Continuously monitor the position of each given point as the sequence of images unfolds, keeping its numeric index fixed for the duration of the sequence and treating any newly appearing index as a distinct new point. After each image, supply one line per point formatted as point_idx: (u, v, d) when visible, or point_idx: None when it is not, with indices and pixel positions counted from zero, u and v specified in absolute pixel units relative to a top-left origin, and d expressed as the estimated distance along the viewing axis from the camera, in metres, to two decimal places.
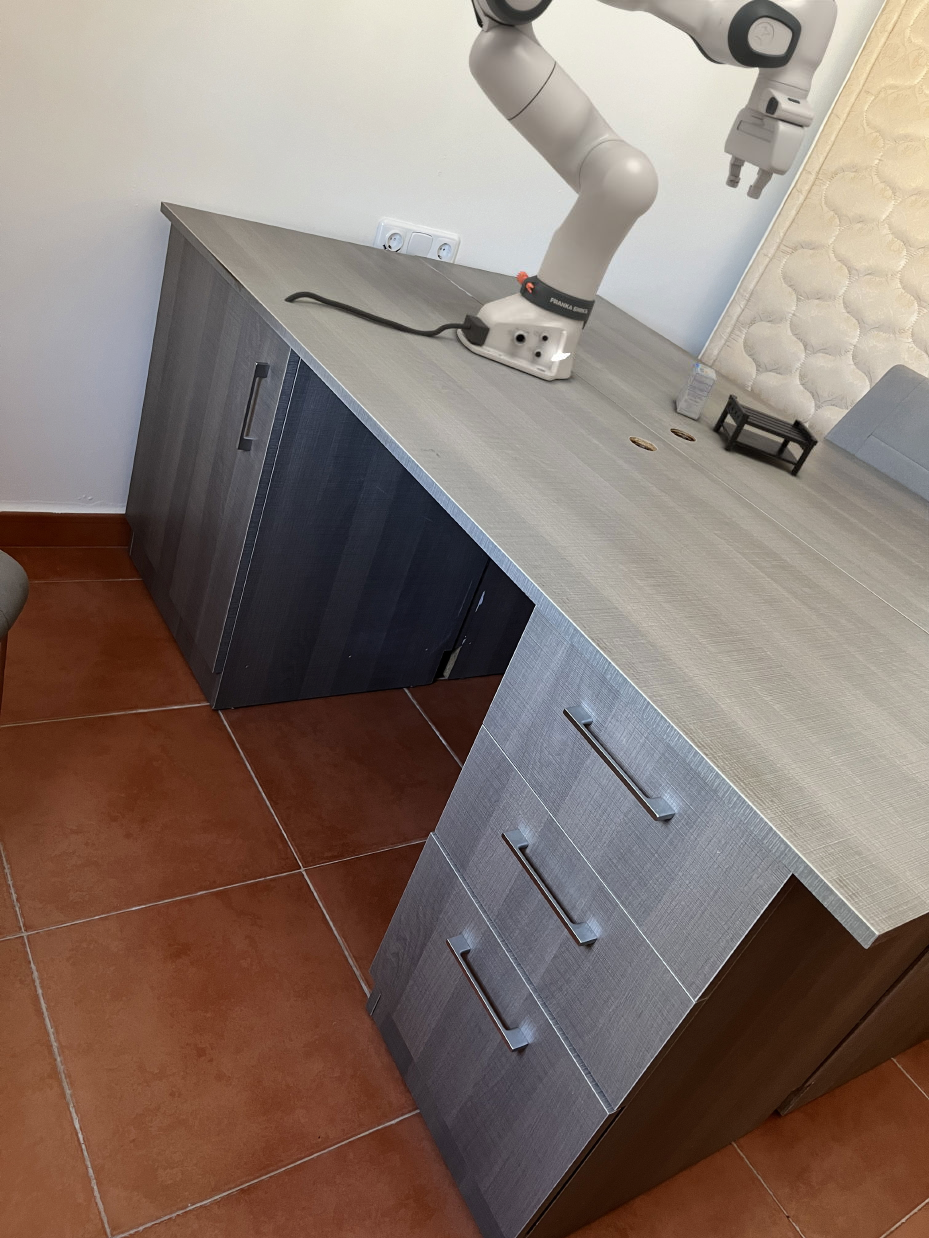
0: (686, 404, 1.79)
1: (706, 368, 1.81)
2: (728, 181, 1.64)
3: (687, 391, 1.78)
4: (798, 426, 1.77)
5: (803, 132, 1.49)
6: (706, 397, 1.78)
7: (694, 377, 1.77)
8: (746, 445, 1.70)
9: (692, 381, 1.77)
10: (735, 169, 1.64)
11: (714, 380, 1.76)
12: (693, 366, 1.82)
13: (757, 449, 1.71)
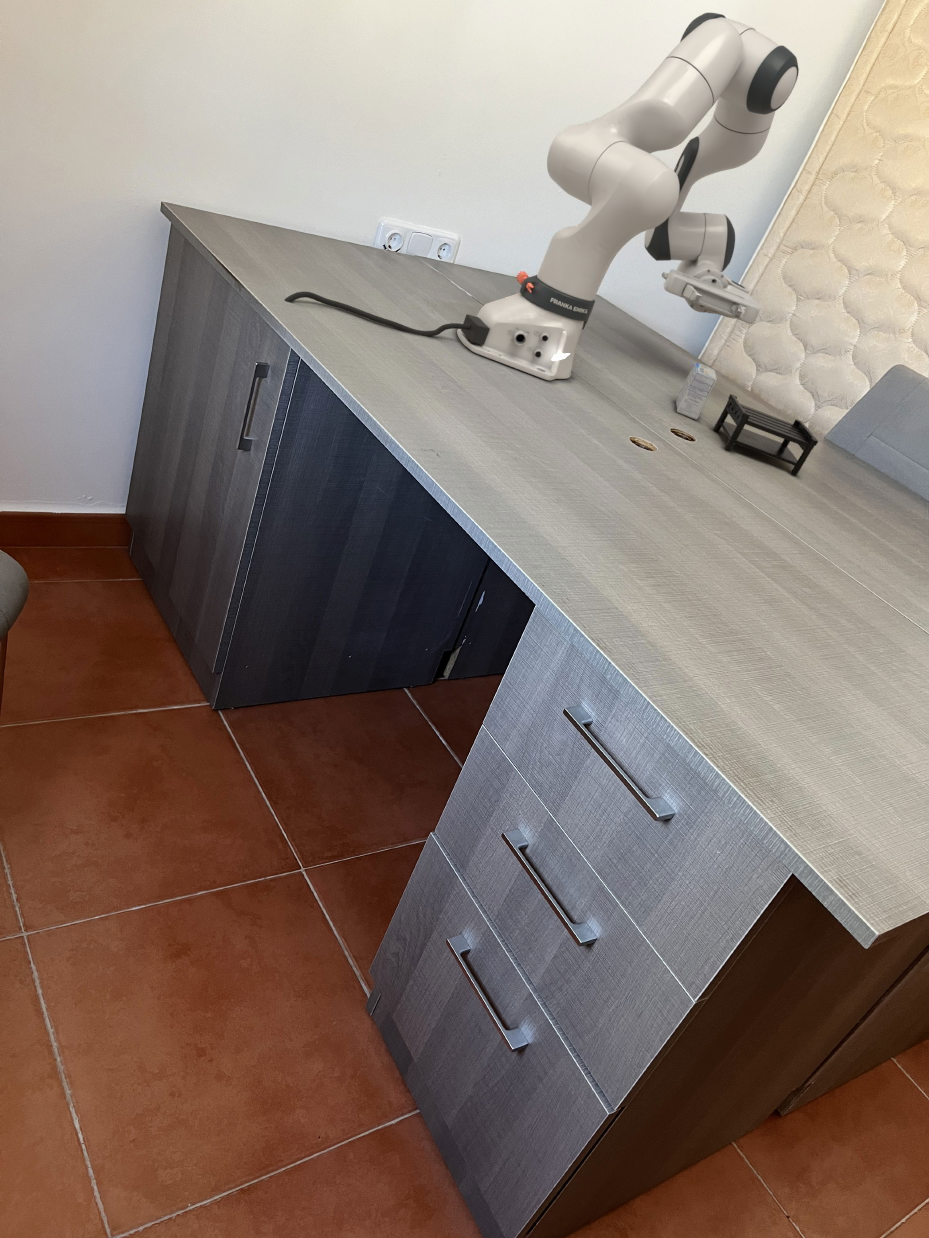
0: (686, 404, 1.79)
1: (706, 368, 1.81)
2: (699, 293, 1.84)
3: (687, 391, 1.78)
4: (798, 426, 1.77)
5: None
6: (706, 397, 1.78)
7: (694, 377, 1.77)
8: (746, 445, 1.70)
9: (692, 381, 1.77)
10: None
11: (714, 380, 1.76)
12: (693, 366, 1.82)
13: (757, 449, 1.71)
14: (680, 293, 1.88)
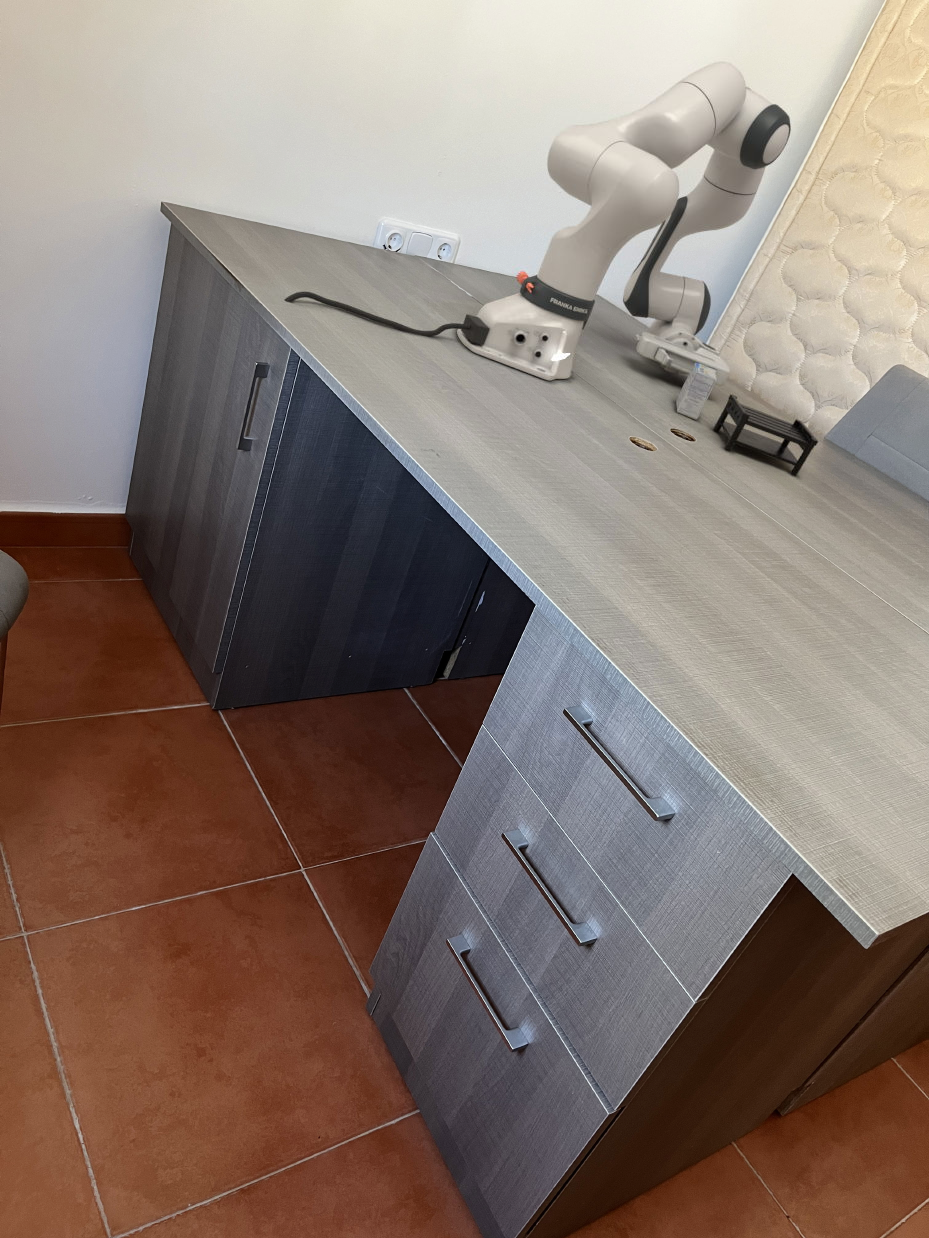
0: (686, 404, 1.79)
1: (706, 368, 1.81)
2: (670, 357, 1.88)
3: (687, 391, 1.78)
4: (798, 426, 1.77)
5: None
6: (706, 397, 1.78)
7: (694, 377, 1.77)
8: (746, 445, 1.70)
9: (692, 381, 1.77)
10: None
11: (714, 380, 1.76)
12: (693, 366, 1.82)
13: (757, 449, 1.71)
14: (652, 356, 1.92)
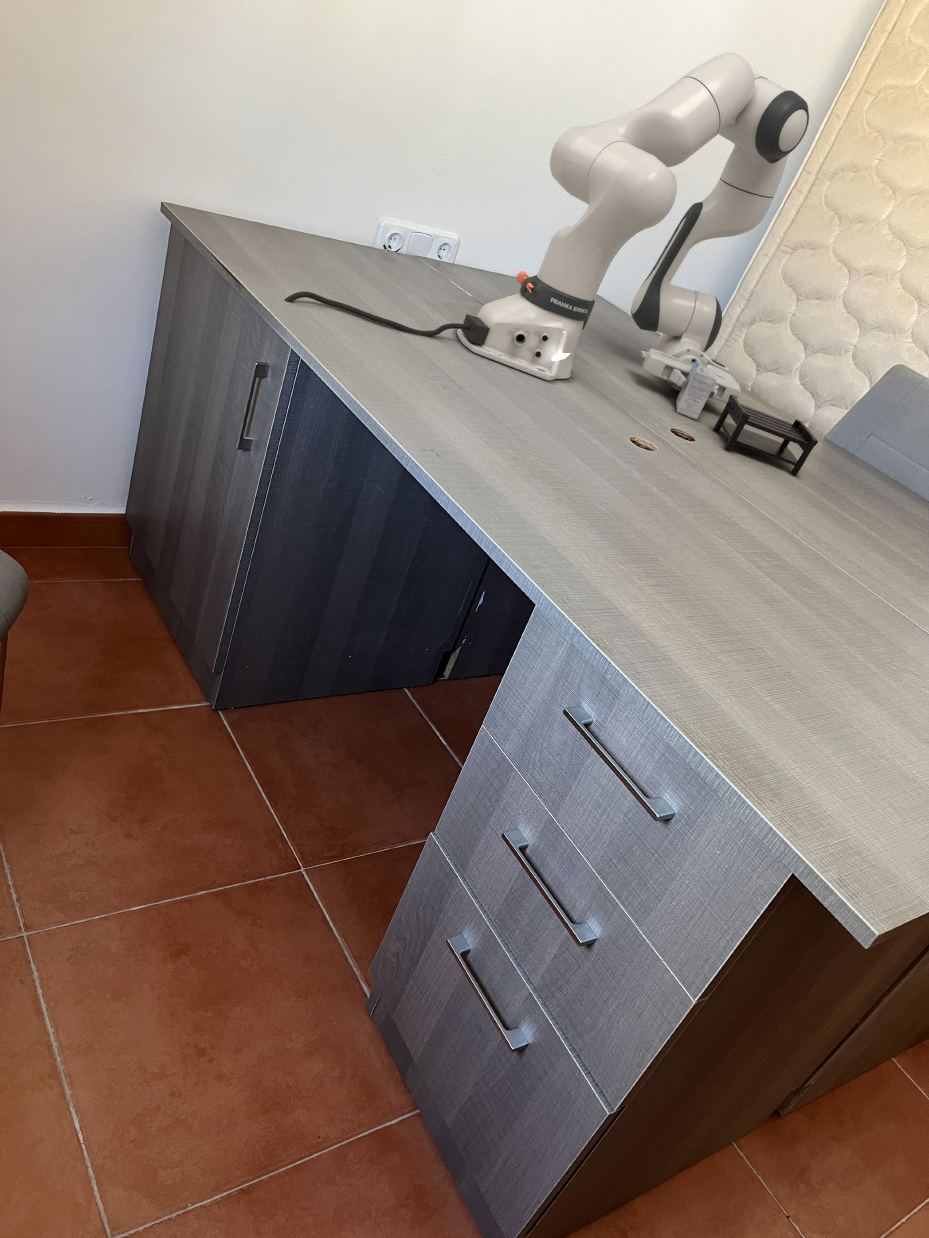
0: (686, 404, 1.79)
1: (706, 368, 1.81)
2: (686, 378, 1.80)
3: (687, 391, 1.78)
4: (798, 426, 1.77)
5: None
6: (706, 397, 1.78)
7: (694, 377, 1.77)
8: (746, 445, 1.70)
9: (692, 381, 1.77)
10: None
11: (714, 380, 1.76)
12: (693, 366, 1.82)
13: (757, 449, 1.71)
14: (659, 374, 1.84)
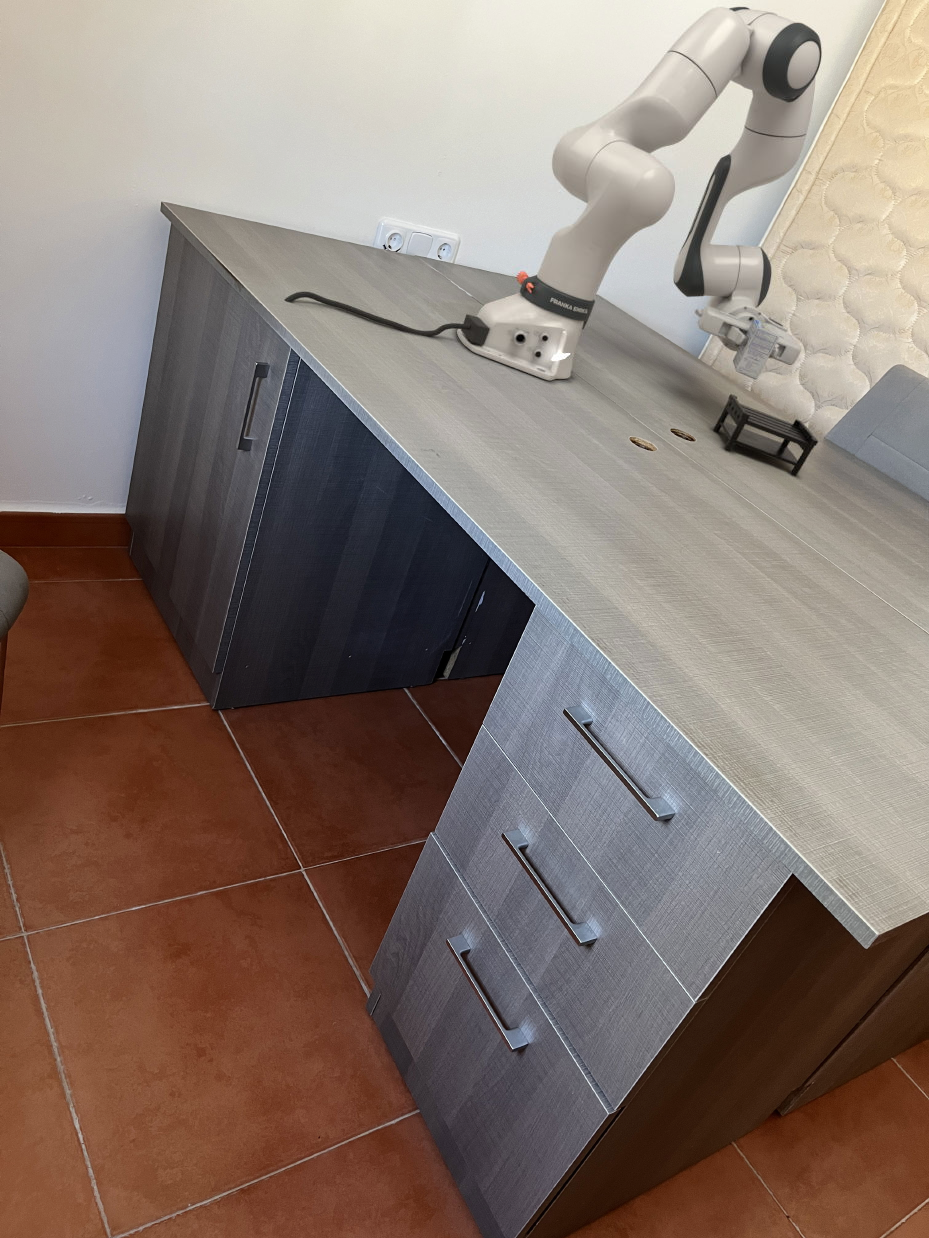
0: (746, 363, 1.70)
1: (766, 325, 1.72)
2: (745, 336, 1.71)
3: (747, 349, 1.69)
4: (798, 426, 1.77)
5: None
6: (767, 355, 1.69)
7: (755, 334, 1.68)
8: (746, 445, 1.70)
9: (753, 338, 1.68)
10: None
11: (776, 337, 1.67)
12: (752, 323, 1.74)
13: (757, 449, 1.71)
14: (716, 332, 1.75)
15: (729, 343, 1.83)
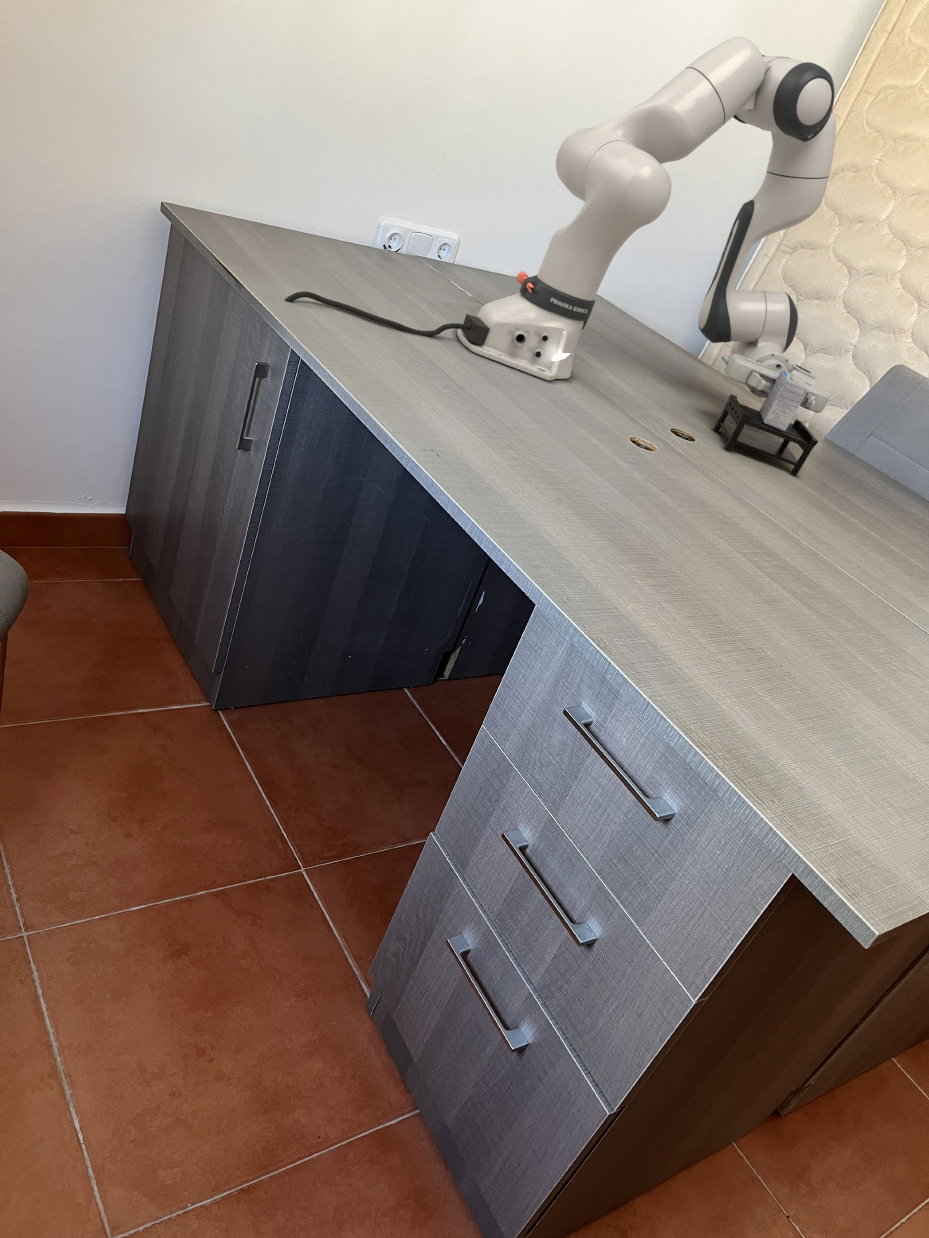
0: (774, 415, 1.69)
1: (794, 377, 1.71)
2: (766, 382, 1.69)
3: (776, 401, 1.68)
4: (798, 426, 1.77)
5: None
6: (796, 407, 1.68)
7: (784, 386, 1.66)
8: (746, 445, 1.70)
9: (782, 391, 1.67)
10: None
11: (805, 390, 1.66)
12: (780, 374, 1.72)
13: (757, 449, 1.71)
14: (744, 381, 1.73)
15: (756, 389, 1.82)
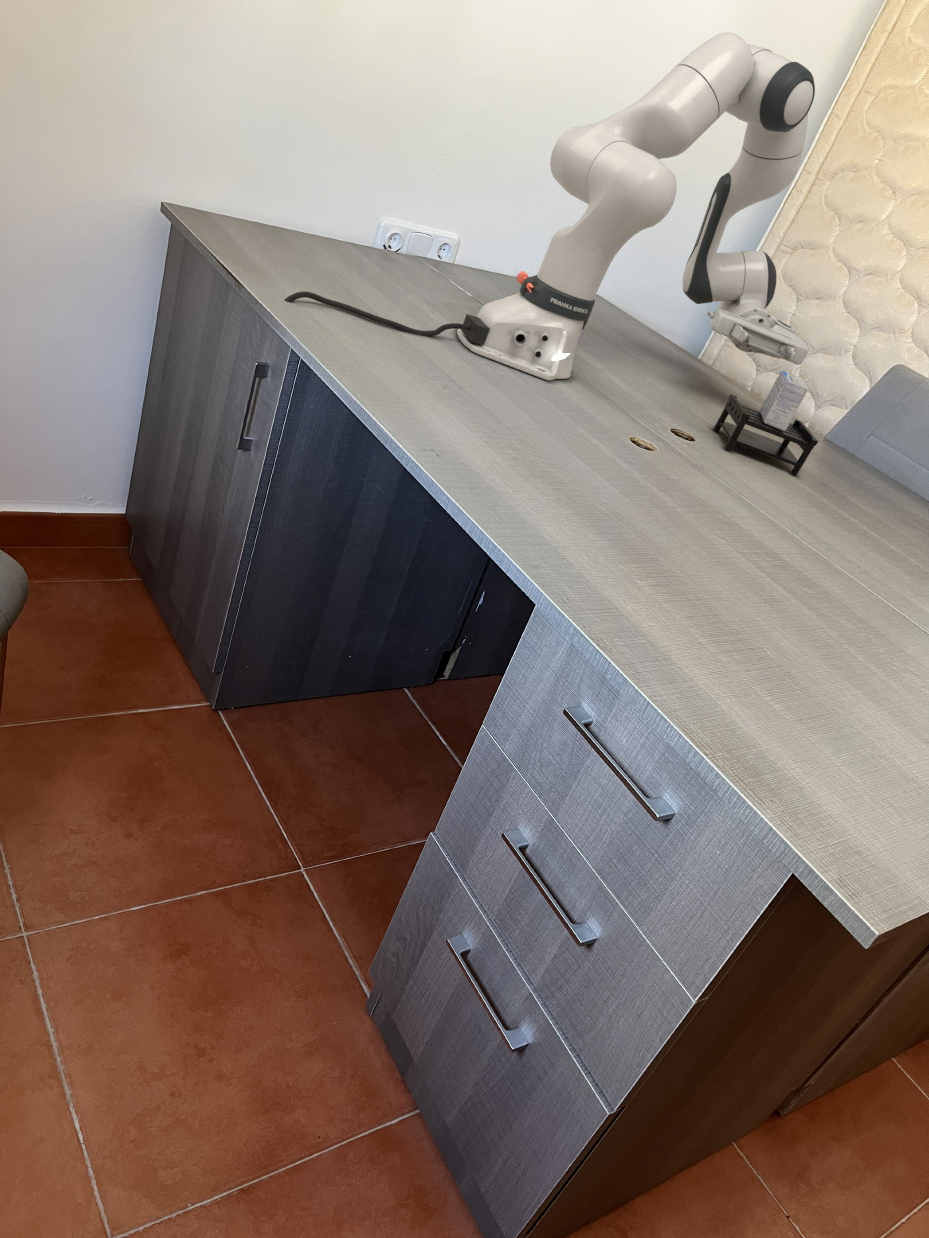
0: (774, 415, 1.69)
1: (794, 377, 1.71)
2: (748, 333, 1.80)
3: (776, 401, 1.68)
4: (798, 426, 1.77)
5: None
6: (796, 407, 1.68)
7: (784, 386, 1.66)
8: (746, 445, 1.70)
9: (782, 391, 1.67)
10: None
11: (805, 390, 1.66)
12: (780, 374, 1.72)
13: (757, 449, 1.71)
14: (728, 333, 1.84)
15: (740, 344, 1.92)
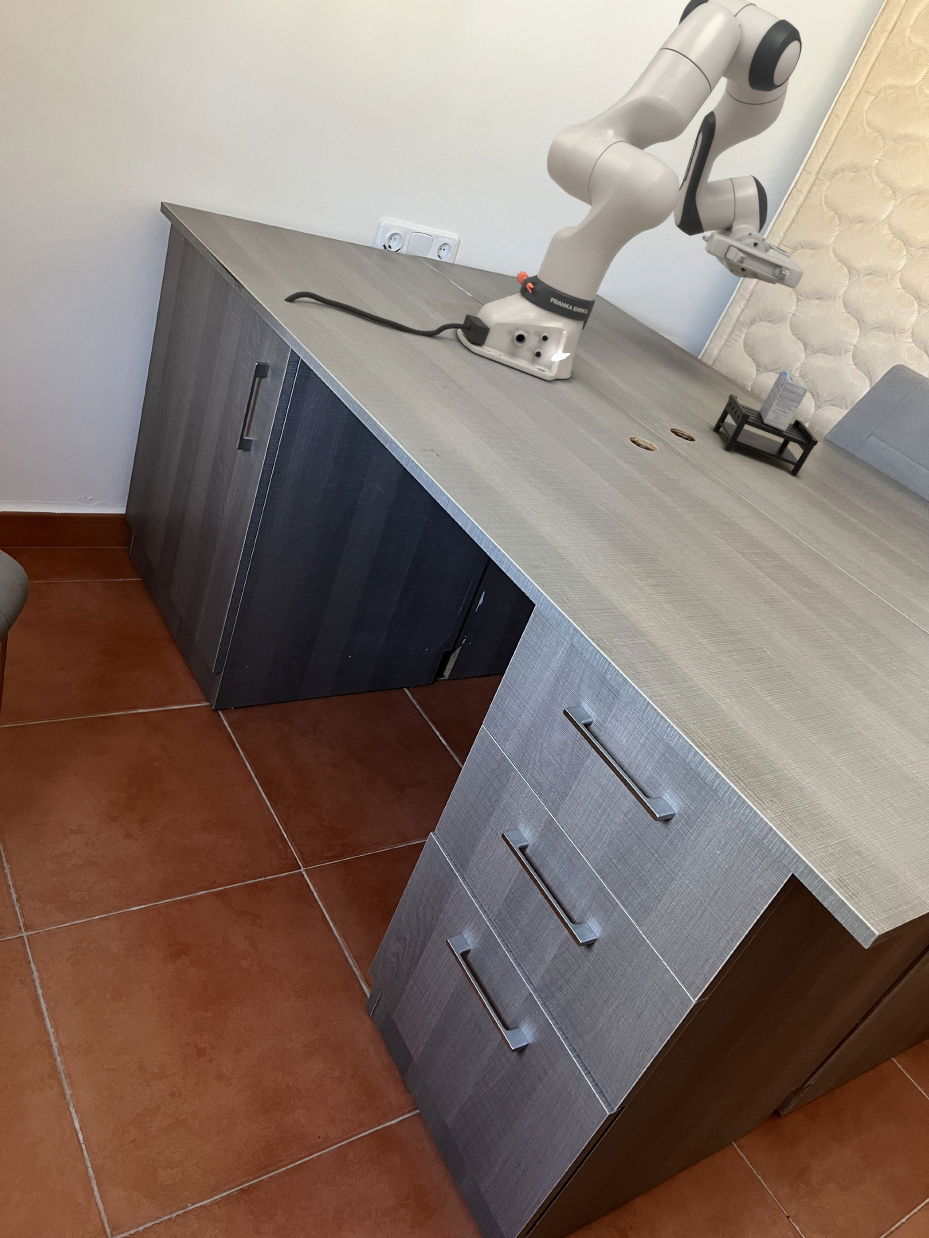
0: (774, 415, 1.69)
1: (794, 377, 1.71)
2: (743, 254, 1.80)
3: (776, 401, 1.68)
4: (798, 426, 1.77)
5: None
6: (796, 407, 1.68)
7: (784, 386, 1.66)
8: (746, 445, 1.70)
9: (782, 391, 1.67)
10: None
11: (805, 390, 1.66)
12: (780, 374, 1.72)
13: (757, 449, 1.71)
14: (723, 255, 1.84)
15: (735, 269, 1.93)
